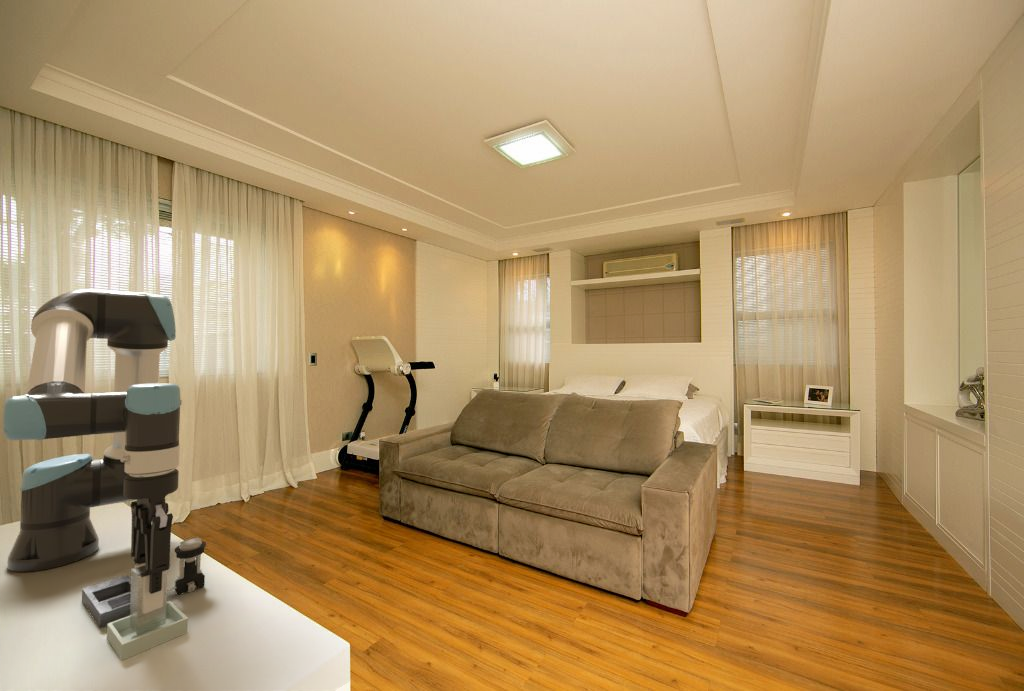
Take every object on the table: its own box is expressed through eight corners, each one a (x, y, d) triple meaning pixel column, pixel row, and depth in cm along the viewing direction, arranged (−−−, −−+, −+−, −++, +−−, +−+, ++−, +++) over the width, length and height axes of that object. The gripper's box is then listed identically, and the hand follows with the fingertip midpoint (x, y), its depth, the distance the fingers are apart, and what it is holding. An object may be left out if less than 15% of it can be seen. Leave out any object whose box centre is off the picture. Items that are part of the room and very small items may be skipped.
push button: (169, 602, 88) (170, 551, 88) (162, 592, 91) (163, 544, 91) (208, 588, 93) (209, 541, 93) (200, 580, 96) (201, 534, 96)
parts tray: (106, 638, 77) (107, 623, 77) (169, 613, 84) (170, 600, 84) (121, 660, 71) (122, 644, 71) (187, 632, 79) (187, 618, 79)
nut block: (129, 626, 77) (131, 568, 77) (158, 615, 80) (159, 560, 81) (136, 635, 75) (138, 576, 75) (165, 623, 78) (167, 567, 78)
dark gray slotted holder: (81, 601, 88) (82, 588, 88) (127, 586, 93) (127, 574, 93) (100, 628, 79) (100, 613, 79) (148, 610, 85) (149, 596, 85)
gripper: (110, 467, 80) (107, 597, 80) (140, 485, 70) (136, 634, 70) (161, 459, 86) (158, 580, 86) (195, 475, 76) (192, 612, 76)
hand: (148, 604), depth 78 cm, fingers closed on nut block, 4 cm apart
